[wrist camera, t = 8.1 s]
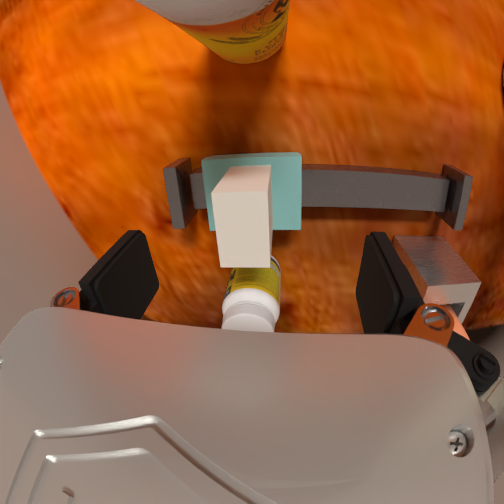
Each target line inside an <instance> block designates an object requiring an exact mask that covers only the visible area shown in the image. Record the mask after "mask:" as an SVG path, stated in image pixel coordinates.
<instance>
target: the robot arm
mask: <svg viewBox="0 0 504 504" xmlns="http://www.w3.org/2000/svg"><path fill="white" fill-rule="evenodd" d="M503 85H504V70H503ZM79 285H80V287H81V289H82V290H81V291H80V292H79V290H78V289H77V288H74V287H69V288H66V289H63V290H61V291H59V292H58V293H57V294H56V295H55V296H54V297H53V298H52V300H51V303H50V307H46V308H40V309H36V310H34V311H31V312H29V313H27V314H26V315H25V316H24V317H23V318H22V319H21V320H20V321H19V322H18V323H17V324H16V326H15V327H14V328H13V329H12V330H11V332H10V333H9V334H8V335H7V337H6V338H5V339H4V341H3V342H2V344H1V345H0V504H494V485H493V484H494V482H495V481H496V480H497V479H498V477H499V476H500V475H501V473H502V472H503V471H504V377H503V378H501V377H500V376H499V375H500V366H499V363H498V361H497V359H496V358H495V357H494V356H493V355H492V354H491V353H489V352H488V351H486V350H485V349H483V348H481V347H480V346H478V345H477V344H475V343H473V342H472V341H470V340H468V339H467V338H465V337H463V336H462V335H460V334H458V333H456V332H455V331H453V328H454V323H455V322H454V318H453V316H452V315H451V313H450V312H449V311H448V310H447V309H446V308H444V307H442V306H440V305H438V304H433V303H427V304H425V303H424V301H423V299H422V297H421V295H420V293H419V291H418V289H417V287H416V285H415V283H414V281H413V279H412V277H411V275H410V273H409V271H408V269H407V268H406V266H405V265H404V264H403V263H402V261H401V259H400V257H399V255H398V254H397V252H396V250H395V248H394V247H393V245H392V243H391V241H390V240H389V238H388V236H387V235H386V233H385V232H371V233H370V235H366V238H365V243H364V249H363V255H362V261H361V266H360V272H359V277H358V282H357V287H356V299H357V303H358V307H359V311H360V316H361V320H362V325H363V329H364V334H350V333H346V334H314V333H278V332H257V331H241V330H227V329H215V328H204V327H194V326H185V325H176V324H167V323H159V322H152V321H144V320H140V319H141V317H142V316H143V314H144V312H145V311H146V309H147V307H148V305H149V304H150V302H151V300H152V299H153V297H154V295H155V294H156V292H157V290H158V288H159V281H158V278H157V274H156V271H155V268H154V264H153V261H152V257H151V254H150V250H149V247H148V243H147V239H146V236H145V234H144V233H142V231H140V230H129V231H127V232H126V233H125V234H124V235H123V236H122V237H121V238H120V239H119V240H118V241H117V242H116V243H115V244H114V245H113V246H112V247H111V248H110V249H109V250H108V251H107V252H106V253H105V254H104V255H103V256H102V257H101V258H100V259H99V260H98V261H97V263H96V264H95V265H94V266H93V267H92V268H91V269H90V270H89V271H88V272H87V273H86V274H85V276H84V277H83V278H82V279H81V280H80V281H79Z"/></svg>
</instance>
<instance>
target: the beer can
mask: <svg viewBox="0 0 504 504" xmlns="http://www.w3.org/2000/svg"><path fill="white" fill-rule="evenodd" d="M135 1H137V2H138V3H140V4H142V5H144V6H145V7H147V8H149V9H151V10H152V11H154V12H156V13H157V14H159V15H161V16H162V17H164V18H165V19H167V20H169V21H170V22H172V23H173V24H175V25H176V26H178V27H179V28H181V29H182V30H184V31H185V32H187V33H188V34H189V35H191V36H192V37H194V38H195V39H197V40H198V41H199V42H201V43H202V44H203V45H205V46H206V47H207V48H209V49H210V50H211V51H213V52H214V53H215V54H217V55H218V56H219V57H221V58H223V59H224V60H227V61H229V62H233V63H238V64H251V63H257V62H260V61H263V60H265V59H267V58H269V57H271V56H272V55H274V54H275V53H276V52H277V51H278V50H279V49H280V47H281V46H282V45H283V43H284V40H285V38H286V31H287V21H288V11H289V1H290V0H135Z"/></svg>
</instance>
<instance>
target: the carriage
mask: <svg viewBox="0 0 504 504" xmlns="http://www.w3.org/2000/svg"><path fill="white" fill-rule="evenodd" d="M201 163H202V172H203V180H204V188H205V196H206V204H207V212H208V219H209V227H210V231H216V237H217V244H218V252H219V259H220V266H221V267H246V268H270V263H271V248H272V231H273V230H301V198H302V156H301V154H299V153H298V152H284V153H247V154H228V155H214V156H211V157H205V158H204V159H202V160H201Z"/></svg>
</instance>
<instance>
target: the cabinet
mask: <svg viewBox="0 0 504 504" xmlns="http://www.w3.org/2000/svg"><path fill="white" fill-rule="evenodd" d="M392 245H393V247H394V248H395V250H396V252H397V254H398V255H399V257H400V259H401V261H402V263H403V264H404V265H405V266H406V268H407V269H408V271H409V273H410V275H411V277H412V279H413V281H414V283H415V285H416V287H417V289H418V291H419V293H420V295H421V297H422V299H423V301H424V303H425V304H427V303H433V304H438V305H444V304H449V305H450V306H451V307H452V309H453V310H454V312H455V314H456V316H457V317H458V319H459V321H460V323H461V324H462V322H463V320H464V318H465V317H466V315H467V313H468V311H469V308H470V306H471V304H472V302H473V300H474V298H475V296H476V293H477V291H478V289H479V287H480V284H481V281H480V280H479V279H478V277H477V276H476V275H475V274H474V272H473V271H472V270H471V269H470V268H469V266H468V265H467V264H466V263H465V262H464V260H463V259H462V258H461V257H460V256H459V255H458V254H457V252H456V251H455V250H454V249H453V248H452V247H451V246H450V245H449V244H448V243H447V241H446V240H445V239H444V238H443V237H440V236H394V238H393V243H392Z"/></svg>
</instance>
